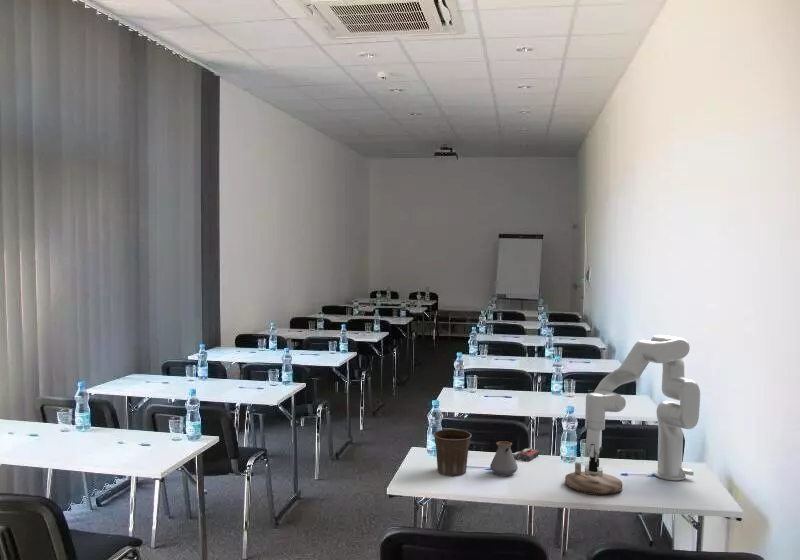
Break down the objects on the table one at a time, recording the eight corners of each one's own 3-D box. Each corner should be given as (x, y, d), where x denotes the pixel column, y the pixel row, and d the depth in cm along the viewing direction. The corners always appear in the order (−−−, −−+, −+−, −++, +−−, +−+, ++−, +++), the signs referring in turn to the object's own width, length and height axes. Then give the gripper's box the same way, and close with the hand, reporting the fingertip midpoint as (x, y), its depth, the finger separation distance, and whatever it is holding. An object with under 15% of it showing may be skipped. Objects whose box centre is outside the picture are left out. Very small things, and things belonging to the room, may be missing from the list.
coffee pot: (489, 468, 283) (490, 434, 283) (516, 469, 282) (516, 435, 282) (492, 485, 262) (493, 447, 261) (521, 486, 261) (522, 448, 261)
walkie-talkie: (523, 452, 309) (504, 462, 293) (523, 443, 309) (504, 453, 293) (540, 456, 304) (522, 466, 288) (540, 446, 304) (522, 456, 288)
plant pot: (463, 480, 267) (463, 441, 266) (426, 474, 274) (427, 436, 273) (476, 469, 281) (476, 432, 281) (441, 463, 288) (441, 427, 288)
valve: (602, 479, 258) (603, 449, 258) (585, 478, 259) (586, 448, 259) (601, 474, 264) (602, 445, 264) (584, 473, 266) (585, 443, 266)
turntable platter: (594, 472, 277) (594, 458, 276) (634, 488, 257) (634, 473, 257) (553, 479, 267) (553, 464, 267) (592, 496, 247) (592, 481, 247)
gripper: (588, 419, 270) (587, 463, 271) (581, 428, 255) (580, 474, 256) (607, 421, 267) (606, 465, 268) (601, 430, 252) (600, 477, 253)
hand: (593, 469), depth 262 cm, fingers closed on valve, 3 cm apart
